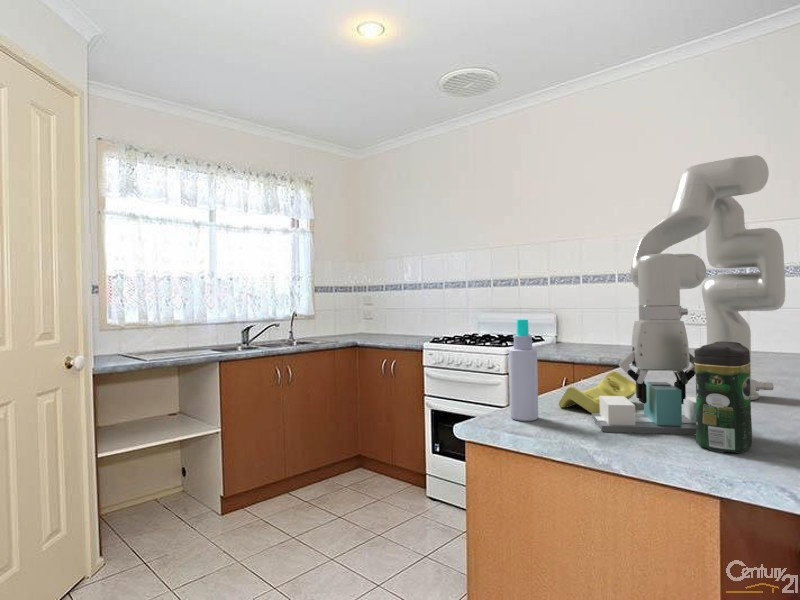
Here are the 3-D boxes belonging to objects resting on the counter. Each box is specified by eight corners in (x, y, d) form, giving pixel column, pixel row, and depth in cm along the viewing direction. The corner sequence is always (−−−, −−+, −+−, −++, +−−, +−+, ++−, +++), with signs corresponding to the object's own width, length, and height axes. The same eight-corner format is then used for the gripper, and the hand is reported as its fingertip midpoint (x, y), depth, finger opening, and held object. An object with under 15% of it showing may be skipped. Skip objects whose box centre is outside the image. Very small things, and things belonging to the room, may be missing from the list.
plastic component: (602, 407, 112) (565, 382, 118) (590, 433, 115) (555, 408, 121) (644, 388, 124) (609, 367, 131) (633, 412, 127) (599, 390, 134)
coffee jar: (706, 436, 95) (705, 338, 95) (756, 445, 90) (755, 340, 89) (689, 447, 89) (687, 342, 89) (742, 457, 83) (740, 345, 83)
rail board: (716, 421, 106) (716, 396, 106) (741, 436, 95) (741, 408, 95) (591, 418, 111) (591, 394, 111) (601, 431, 100) (601, 405, 100)
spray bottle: (544, 418, 111) (542, 319, 111) (526, 423, 108) (524, 320, 108) (522, 413, 116) (520, 318, 116) (504, 418, 113) (502, 319, 112)
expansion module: (666, 414, 107) (666, 381, 107) (681, 425, 98) (681, 389, 98) (644, 414, 108) (643, 380, 108) (656, 425, 99) (656, 388, 99)
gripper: (698, 313, 105) (699, 399, 105) (610, 314, 108) (611, 397, 108) (713, 314, 97) (715, 407, 98) (618, 316, 101) (620, 405, 101)
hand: (660, 401), depth 103 cm, fingers open, 6 cm apart
